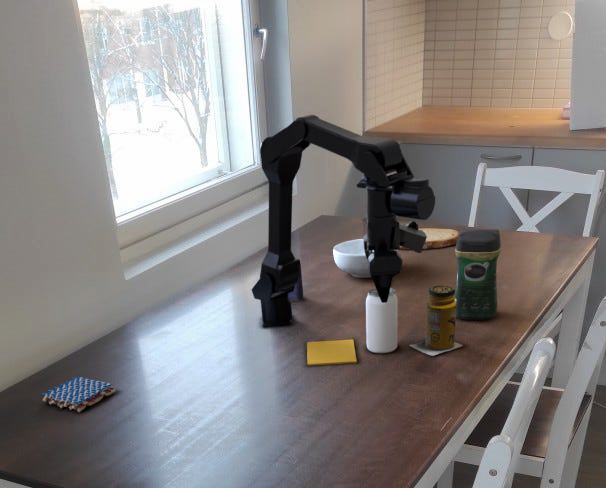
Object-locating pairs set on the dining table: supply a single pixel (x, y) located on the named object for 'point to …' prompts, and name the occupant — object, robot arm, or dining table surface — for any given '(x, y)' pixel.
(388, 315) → the can
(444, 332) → the condiment
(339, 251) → the cereal bowl
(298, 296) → the flask
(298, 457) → the dining table surface
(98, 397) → the woven mat
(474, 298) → the coffee jar
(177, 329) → the dining table surface
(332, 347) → the cloth
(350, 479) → the dining table surface
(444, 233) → the slice of bread
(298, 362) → the dining table surface
